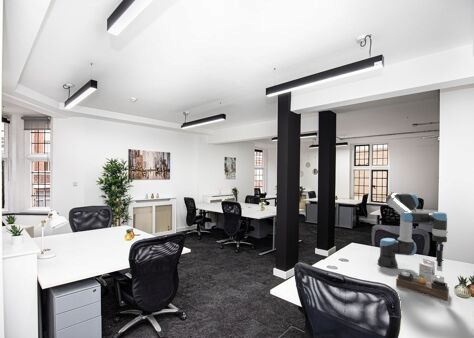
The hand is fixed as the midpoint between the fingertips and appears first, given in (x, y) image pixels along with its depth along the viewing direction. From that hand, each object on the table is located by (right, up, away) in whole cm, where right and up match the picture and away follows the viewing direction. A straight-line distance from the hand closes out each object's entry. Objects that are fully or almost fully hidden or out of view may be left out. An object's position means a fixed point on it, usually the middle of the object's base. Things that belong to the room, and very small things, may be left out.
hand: (439, 270), depth 163 cm
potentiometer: (-7, -11, +7) cm, 15 cm away
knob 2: (0, -8, 0) cm, 8 cm away
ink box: (+11, -17, +24) cm, 32 cm away
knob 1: (-14, -11, +13) cm, 22 cm away
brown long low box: (-7, -16, +7) cm, 19 cm away
